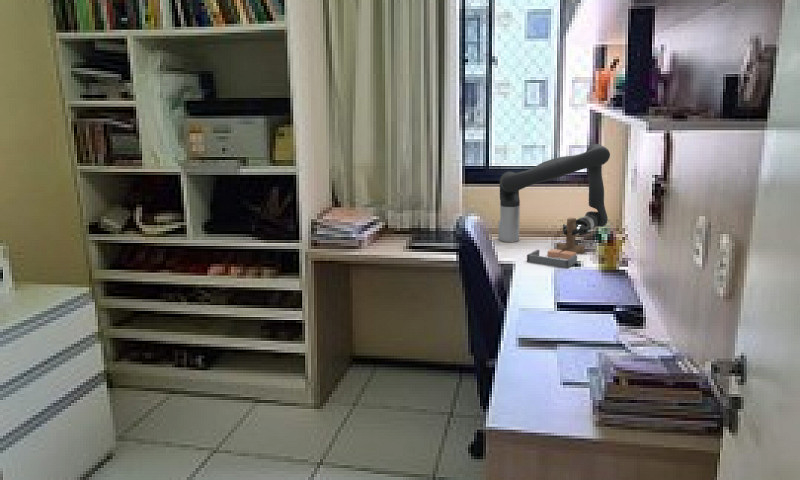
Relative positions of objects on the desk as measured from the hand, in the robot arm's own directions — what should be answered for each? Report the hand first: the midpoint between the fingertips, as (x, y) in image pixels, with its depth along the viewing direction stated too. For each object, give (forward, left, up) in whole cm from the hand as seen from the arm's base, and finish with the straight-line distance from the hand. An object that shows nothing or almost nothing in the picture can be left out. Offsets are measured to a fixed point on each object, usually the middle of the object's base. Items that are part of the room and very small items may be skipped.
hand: (568, 232), depth 257 cm
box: (0, -17, -9) cm, 19 cm away
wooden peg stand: (0, +3, -9) cm, 10 cm away
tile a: (-3, -7, -9) cm, 12 cm away
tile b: (+3, -7, -9) cm, 12 cm away
